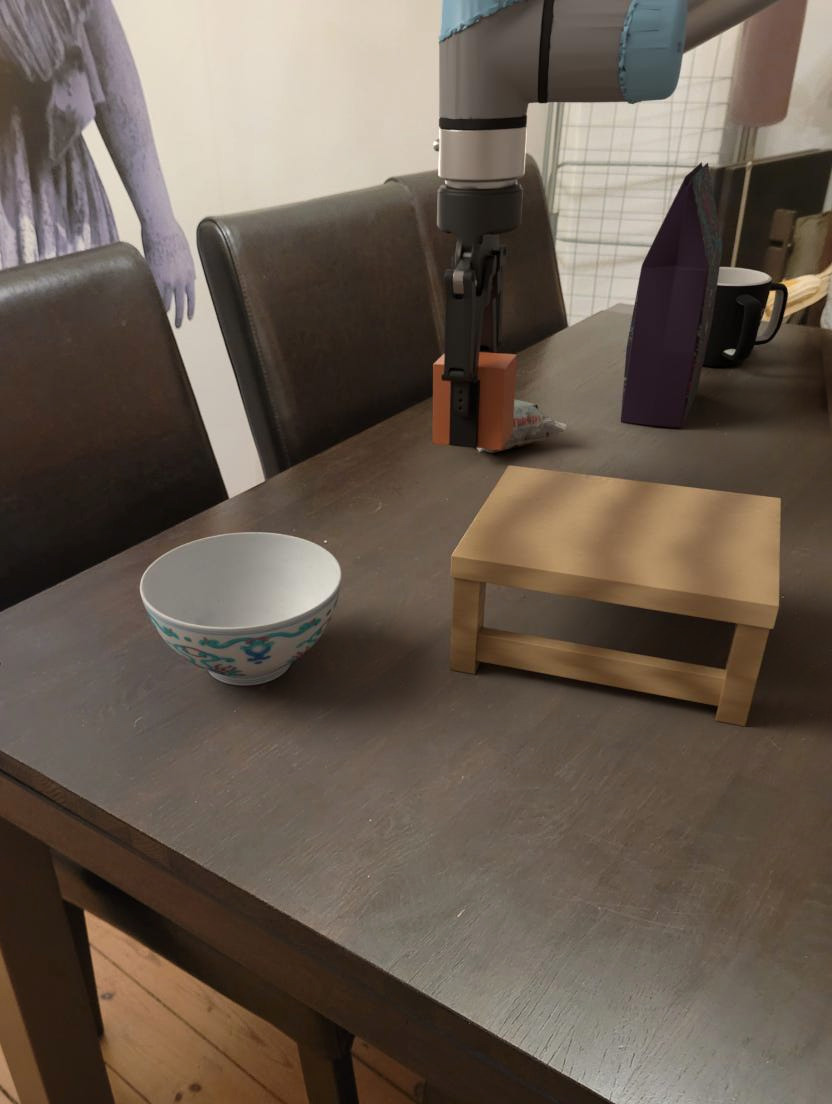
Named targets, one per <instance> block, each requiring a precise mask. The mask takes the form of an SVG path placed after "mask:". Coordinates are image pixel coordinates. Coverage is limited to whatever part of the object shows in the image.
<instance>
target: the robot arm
mask: <svg viewBox="0 0 832 1104" xmlns="http://www.w3.org/2000/svg"><path fill="white" fill-rule="evenodd" d="M782 1H783V0H441V13H440V14H441V15H440V31H439V32H440V33H439V35H438V57H439V58H438V63H439V64H438V68H439V69H438V75H439V76H438V117H439V118H438V127H439V128H438V138H437V139H434V141H433V144H432V149H433V150H434V151H435V152H438V168H437V169H438V171H437V172H438V173H437V174H438V177H439V178H440V179H441V180H443V181H444V183H443V184H441V185H439V188H438V189H437V196H436V198H437V204H436V205H437V207H436V209H437V210H436V213H437V214H436V225H437V228H438V229H439V230H440V232H443V233H446V234H453V235H455V236H456V238H457V241H456V248H455V253H453V254H452V256H451V261H450V269H446V270H445V272H444V274H443V279H444V290H445V314H444V315H445V320H444V353H445V355H444V374H441V378H442V381H451V389H450V429H449V445H448V446H452V447H453V446H455V447H461V448H462V447H464V448H473V449H477V448H476V447H477V446H478V424H479V400H480V380H477V379H478V374H477V373H478V363H479V353H480V352H486V353H501V354H505V352H503V351H497V350H500V348H501V347H502V343H503V341H502V331H503V330H502V329H503V326H502V325H503V308H504V307H503V306H504V288H505V269H506V268H505V267H506V261H507V255H508V246H507V244H500V235H505V234H509V233H512V232H515V231H517V230H518V229H519V228H520V226H521V224H522V215H523V196H524V195H523V194H524V188H523V187H522V185H521V184H520V183H519V182H518V179H521V178H522V177H524V175H525V174H526V173H525V172H526V155H527V134H528V125H527V124H528V109H529V104H536V103H537V104H548V103H627V104H629V105H635V104H637V103H641V102H651V101H663V100H666V99H668V98H670V97H671V96H672V95H673V94H674V93H675V92H676V90H677V87H678V84H679V81H680V76H681V70H682V64H683V58H684V57H683V56H684V55H686V54H687V53H689V52H691V51H692V50H695V49H696V48H698V47H700V46H702V45H704V44H705V43H707V42H709V41H711V40H712V39H715V38H716V37H718V36H720V35H722V34H723V33H726V32H727V31H729V30H732V28H735V27H736V26H738V25H741V24H742V23H744V22H746V21H748V20H749V19H751V18H753V17H755V16H757V15H759V14H761V13H762V12H764V11H766V10H768V9H770V8H771V7H773V6H775V5H777V4H778V3H780V2H782Z"/></svg>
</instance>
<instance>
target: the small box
mask: <svg viewBox="0 0 832 1104" xmlns="http://www.w3.org/2000/svg"><path fill="white" fill-rule="evenodd" d="M444 355H445V352H444V353H443V354H442V355H441V356H440V357H439V358H438V359H437V360H436V361H435V362H434V363H433V364H432V367H433V368H432V444H433V445H434V444H435V445H444V446H450V445H449V429H450V389H451V381H442V378H441V374H444ZM517 358H518V354H515V353H504V354H501V353H486V352H480V353H479V363H478V373H477V374H478V379H477V380H480V400H479V424H478V446H477V447H476V448H475V449H477V448H484V449H494V450H502V448H503V447H504V445H505V444H506V442H507V441H508V439H509V438H510V436H511V435H512V433H513V418H514V399H516V377H517V362H518V361H517ZM502 451H503V450H502Z"/></svg>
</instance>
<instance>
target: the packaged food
mask: <svg viewBox="0 0 832 1104" xmlns="http://www.w3.org/2000/svg"><path fill="white" fill-rule="evenodd" d="M566 429H567V424H565V423H563V422H559V421H556V420H553V419H551V417H549V416H548V415H546V414H545V413H544V412H543V411H541V410H540V409H539V405H538V404H536V403H532V402H528V401H524V400H520V399H516V398H515V399H514V418H513V433H512V435H511V436H510V438H509V439H508V441H507V442H506V444H505V445H504V447H503V448H502V450H494V449H484V448H476V450H477V452H478V453H481V452H487V453H490V454H494V453H497V452H503V451H506V450H509V449H510V450H511V449H515V448H522V447H525V446H527V445H531V444H534V443H538V442H541V441H544V440H548V439H551V437H553V436H556V435H558V434H560V433H563V432H564V431H566Z"/></svg>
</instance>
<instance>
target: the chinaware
mask: <svg viewBox="0 0 832 1104" xmlns="http://www.w3.org/2000/svg"><path fill="white" fill-rule="evenodd" d="M342 578H343V573H342V569H341V565H340V563H339V561H338V560H337V558H336V557H335V556H334V555H333V554H332V553H331V552H330V551H328V550H327V549H325V548H324V547H323V546H321V545H319V544H317V543H315V542H312V541H310V540H307V539H305V538H302V537H297V536H293V535H289V534H282V533H275V532H264V531H259V532H258V531H248V532H247V531H245V532H232V533H224V534H223V533H222V534H217V535H212V536H208V537H203V538H200V539H196V540H192V541H190V542H186V543H184V544H182V545H180V546H177V547H175V548H173V549H171V550H169V551H167V552H166V553H164V554H162V555H161V556H160V557H158V558H156V559H155V560H154V561H153V562H152V563H151V564H150V565H149V566H148V567H147V568H146V570H145V571H144V573H143V574H142V576H141V578H140V583H139V593H140V596H141V601H142V603H143V606H144V608H145V610H146V613H147V615H148V617H149V619H150V621H151V623H152V624H153V626H154V628H155V629H156V631H157V632H158V634H159V636H161V638H162V639H163V640H164V642H165V643H166V644H167V645H168V646H169V647H170V648H171V649H172V650H173V651H174V652H175V653H177V654H178V655H179V656H180V657H182V658H183V659H185V660H186V661H188V662H189V663H191V664H192V665H194V666H196V667H197V668H201V669H202V670H205V671H208V673H209V674H210V675H211V677H213V679H216V680H218V681H219V682H221V683H224V684H228V685H233V686H257V685H262V684H265V683H268V682H271V681H273V680H275V679H277V678H280V676H282V675H284V673H286V672H287V671H288V670H289V668H290V666H291V664H292V663H293V662H295V661H297V660H298V659H300V658H301V657H302V656H303V655H304V654H306V653H307V652H308V651H309V650H311V648H312V647H313V646H314V645H315V644H316V643H317V641H318V640H319V639H320V638H321V637H322V635H323V634H324V632H325V630H326V629H327V627H328V625H329V624H330V621H331V620H332V617H333V615H334V612H335V609H336V606H337V604H338V600H339V596H340V593H341V586H342V581H343V579H342Z"/></svg>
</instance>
